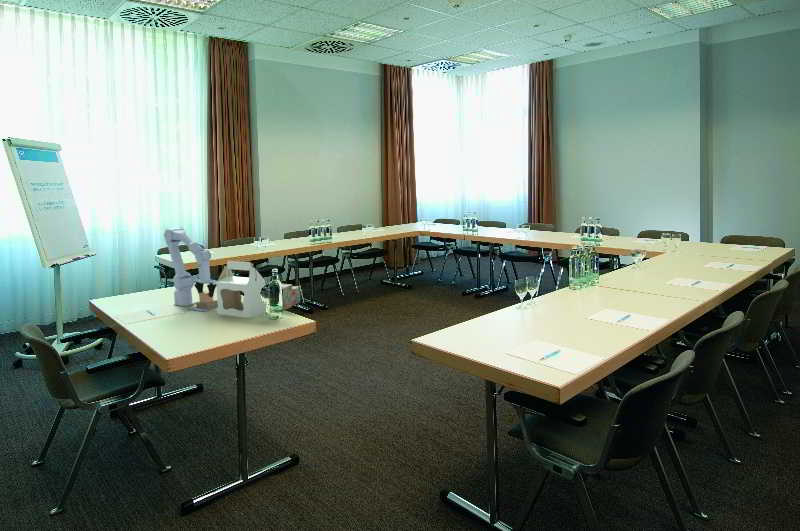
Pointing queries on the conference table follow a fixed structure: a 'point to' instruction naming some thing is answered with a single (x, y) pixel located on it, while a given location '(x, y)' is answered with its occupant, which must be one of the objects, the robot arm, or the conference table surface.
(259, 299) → the gable box
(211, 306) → the plate
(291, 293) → the white printed box
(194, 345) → the conference table surface
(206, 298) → the terracotta cube
